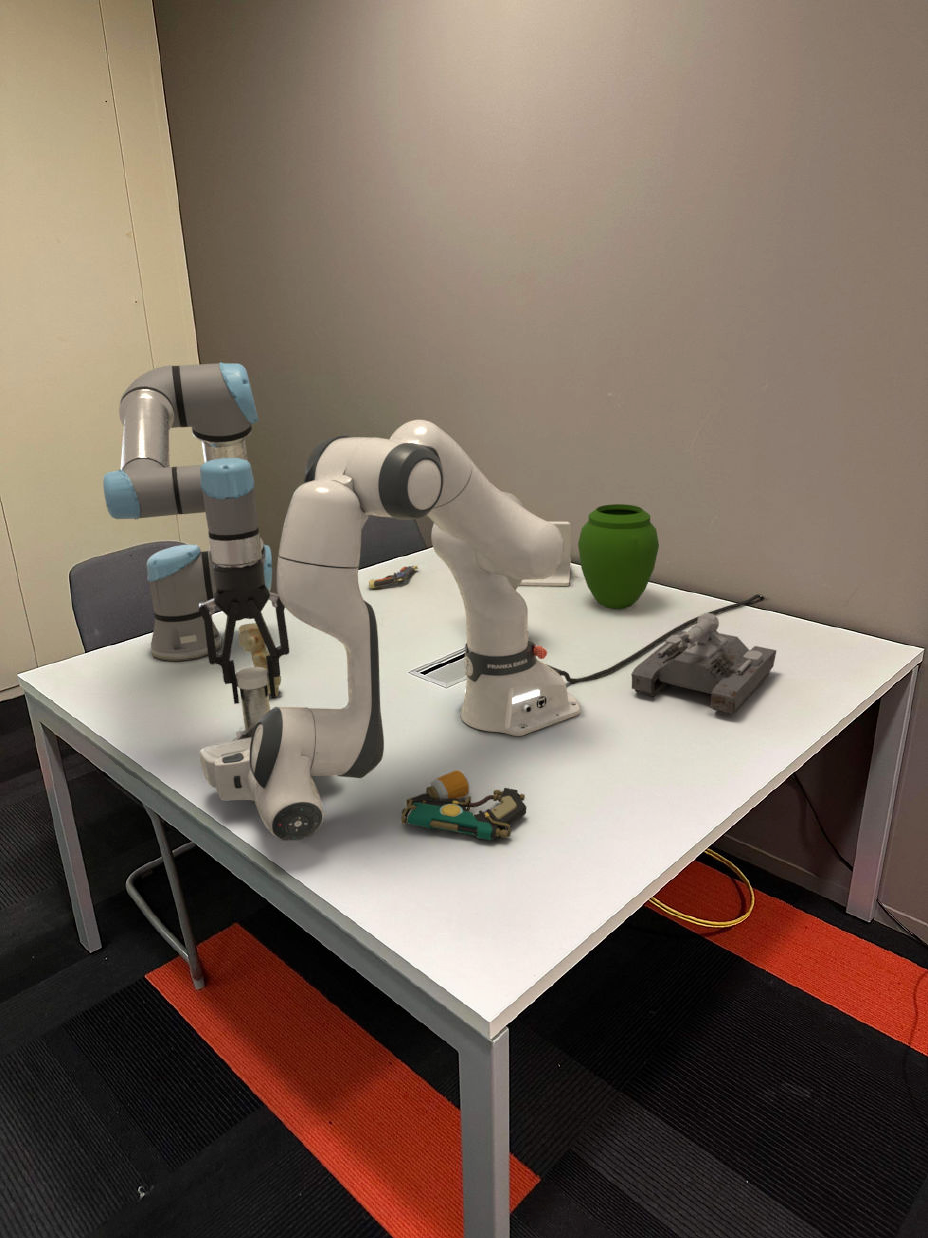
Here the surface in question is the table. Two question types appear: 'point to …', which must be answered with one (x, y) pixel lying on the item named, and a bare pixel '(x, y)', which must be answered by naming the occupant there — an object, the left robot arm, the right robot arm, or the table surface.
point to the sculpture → (256, 649)
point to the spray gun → (463, 808)
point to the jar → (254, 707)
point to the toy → (706, 665)
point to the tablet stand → (563, 571)
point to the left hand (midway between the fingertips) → (254, 697)
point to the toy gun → (393, 577)
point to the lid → (252, 678)
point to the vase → (618, 554)
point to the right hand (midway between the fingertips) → (258, 731)
